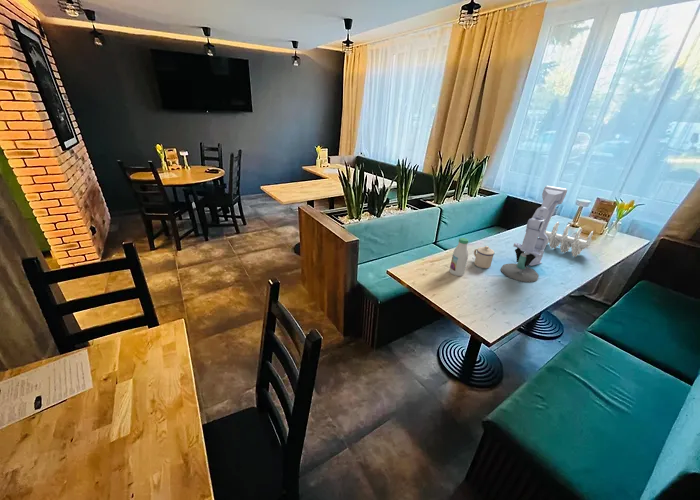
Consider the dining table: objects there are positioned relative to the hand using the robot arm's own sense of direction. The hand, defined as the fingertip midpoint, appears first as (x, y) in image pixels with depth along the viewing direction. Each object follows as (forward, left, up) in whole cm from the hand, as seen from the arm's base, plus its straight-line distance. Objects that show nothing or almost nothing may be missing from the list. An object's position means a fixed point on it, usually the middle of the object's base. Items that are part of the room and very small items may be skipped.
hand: (522, 263), depth 157 cm
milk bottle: (+32, -13, -6) cm, 35 cm away
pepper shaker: (0, 0, -2) cm, 2 cm away
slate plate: (0, 0, -6) cm, 6 cm away
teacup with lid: (+12, -16, -6) cm, 21 cm away
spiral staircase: (-49, -10, -6) cm, 50 cm away
